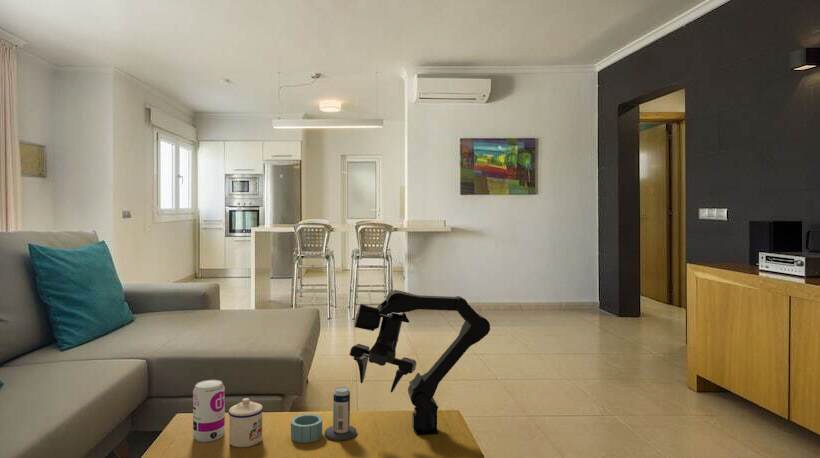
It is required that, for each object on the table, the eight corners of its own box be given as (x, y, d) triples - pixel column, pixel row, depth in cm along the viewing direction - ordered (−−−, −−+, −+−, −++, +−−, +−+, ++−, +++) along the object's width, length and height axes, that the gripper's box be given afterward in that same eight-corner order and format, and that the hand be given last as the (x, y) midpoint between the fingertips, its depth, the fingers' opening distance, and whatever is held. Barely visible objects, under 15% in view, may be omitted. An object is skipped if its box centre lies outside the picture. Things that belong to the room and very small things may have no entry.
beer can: (353, 431, 145) (353, 389, 145) (340, 436, 142) (340, 393, 141) (342, 426, 148) (343, 385, 148) (329, 431, 145) (329, 389, 145)
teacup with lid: (254, 449, 135) (254, 406, 135) (222, 447, 136) (222, 404, 136) (272, 430, 147) (272, 390, 147) (242, 428, 148) (242, 389, 148)
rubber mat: (355, 426, 150) (355, 423, 150) (357, 439, 141) (357, 436, 141) (324, 428, 149) (324, 425, 149) (324, 442, 140) (324, 439, 140)
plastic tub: (322, 428, 148) (322, 413, 148) (322, 441, 140) (322, 425, 140) (292, 430, 147) (292, 415, 147) (290, 444, 138) (290, 427, 138)
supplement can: (231, 433, 145) (230, 381, 144) (208, 445, 137) (208, 390, 137) (209, 428, 148) (209, 377, 148) (186, 439, 141) (186, 386, 140)
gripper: (349, 329, 140) (336, 384, 140) (413, 347, 136) (400, 404, 136) (362, 324, 151) (350, 375, 151) (422, 341, 147) (409, 394, 146)
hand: (376, 387), depth 146 cm, fingers open, 9 cm apart
